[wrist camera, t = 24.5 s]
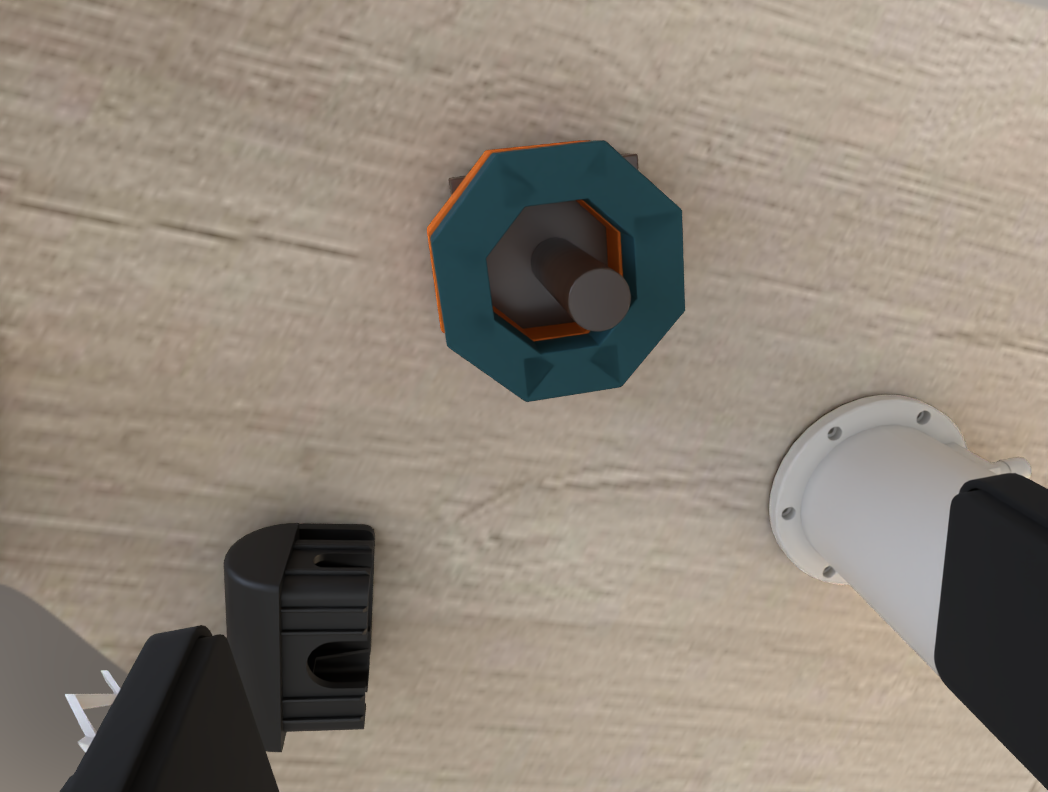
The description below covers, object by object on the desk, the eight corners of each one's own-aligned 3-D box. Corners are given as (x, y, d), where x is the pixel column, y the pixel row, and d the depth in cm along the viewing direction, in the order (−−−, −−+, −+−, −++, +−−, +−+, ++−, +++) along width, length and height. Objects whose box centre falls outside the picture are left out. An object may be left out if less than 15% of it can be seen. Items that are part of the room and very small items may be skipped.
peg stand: (629, 153, 34) (713, 157, 25) (640, 328, 38) (718, 393, 28) (448, 177, 34) (461, 191, 24) (475, 354, 37) (496, 431, 27)
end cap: (242, 514, 38) (208, 587, 32) (375, 516, 39) (367, 587, 33) (247, 663, 41) (217, 757, 35) (370, 661, 42) (362, 752, 36)
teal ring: (662, 132, 31) (680, 131, 29) (671, 363, 35) (687, 377, 32) (417, 161, 30) (418, 163, 28) (455, 397, 34) (457, 413, 31)
